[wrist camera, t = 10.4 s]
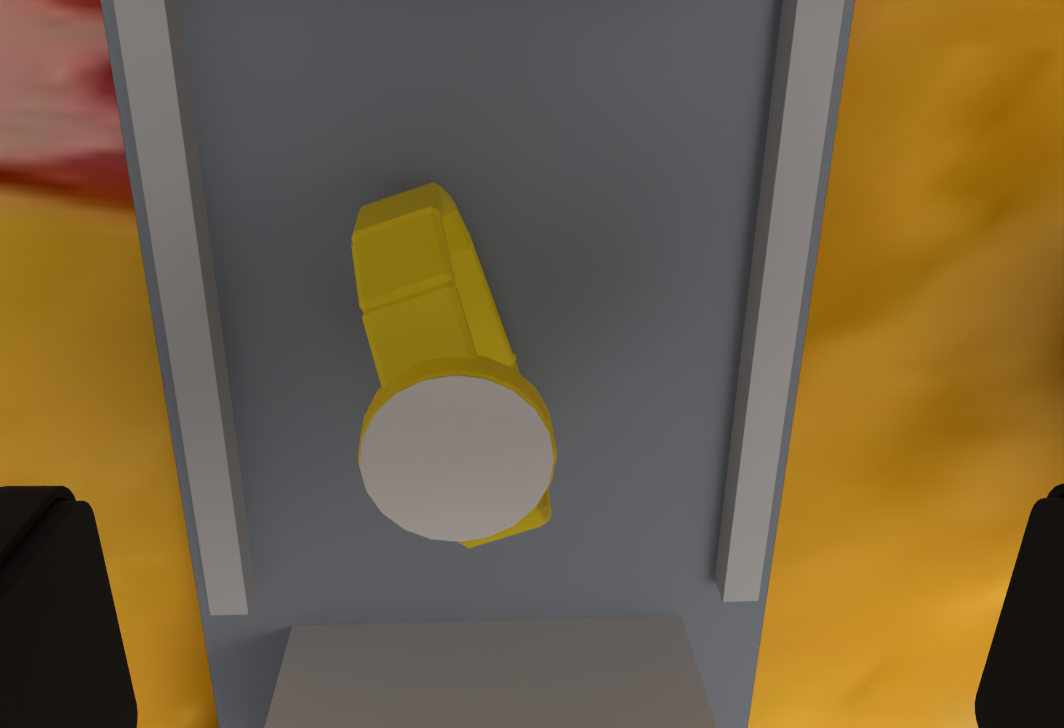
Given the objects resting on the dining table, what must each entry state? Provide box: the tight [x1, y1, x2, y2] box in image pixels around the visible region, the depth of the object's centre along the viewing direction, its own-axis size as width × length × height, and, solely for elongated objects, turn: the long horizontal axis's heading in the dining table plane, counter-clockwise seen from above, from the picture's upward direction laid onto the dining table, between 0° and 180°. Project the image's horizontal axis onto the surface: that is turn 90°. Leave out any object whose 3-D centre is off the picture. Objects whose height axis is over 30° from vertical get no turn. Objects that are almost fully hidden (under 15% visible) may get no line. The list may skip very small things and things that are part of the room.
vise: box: [100, 0, 855, 728], centre depth 14 cm, size 13×34×8 cm, turn 179°
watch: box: [351, 182, 557, 548], centre depth 15 cm, size 6×3×6 cm, turn 18°
